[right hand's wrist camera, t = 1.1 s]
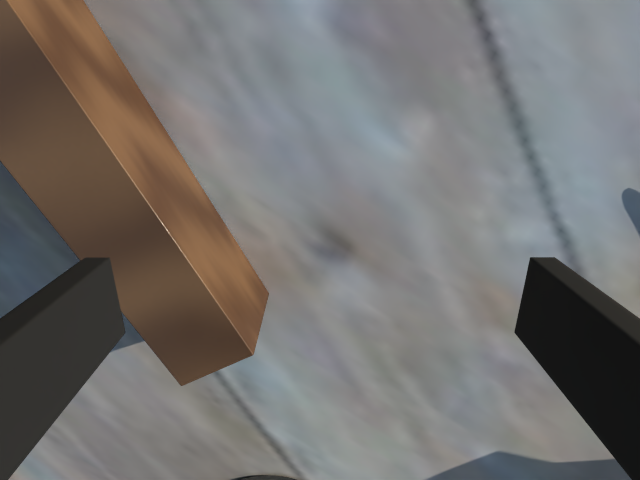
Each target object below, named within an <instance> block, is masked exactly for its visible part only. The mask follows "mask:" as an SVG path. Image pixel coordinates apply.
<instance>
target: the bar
mask: <svg viewBox="0 0 640 480" xmlns="http://www.w3.org/2000/svg"><path fill="white" fill-rule="evenodd" d="M0 161H1V162H2V164H3V165H4V166H5V167H6V169H7V170H8V171H9V172H10V174H11V175H12V176H13V177H14V179H15V180H16V181H17V182H18V184H19V185H20V186H21V187H22V189H23V190H24V191H25V192H26V194H27V195H28V196H29V197H30V199H31V200H32V201H33V202H34V204H35V205H36V206H37V207H38V209H39V210H40V211H41V212H42V213H43V215H44V216H45V217H46V218H47V220H48V221H49V222H50V223H51V225H52V226H53V227H54V228H55V230H56V231H57V232H58V233H59V235H60V236H61V237H62V238H63V240H64V241H65V242H66V243H67V245H68V246H69V247H70V248H71V250H72V251H73V252H74V253H75V255H76V256H77V257H78V258H79V260H80V261H81V260H82V259H84V258H85V257H110V261H111V266H112V271H113V275H114V280H115V285H116V290H117V294H118V299H119V304H120V309H121V312H122V313H123V314H124V315H125V317H126V318H127V319H128V320H129V322H130V323H131V324H132V325H133V327H134V328H135V329H136V330H137V332H138V333H139V334H140V335H141V337H142V338H143V339H144V340H145V342H146V343H147V344H148V345H149V347H150V348H151V349H152V350H153V352H154V353H155V354H156V355H157V357H158V358H159V359H160V360H161V362H162V363H163V364H164V365H165V366H166V368H167V369H168V370H169V371H170V373H171V374H172V375H173V376H174V378H175V379H176V380H177V381H178V383H179V384H180V385H181V386H183V385H185V384H187V383H190V382H192V381H194V380H197V379H199V378H201V377H204V376H206V375H208V374H210V373H213V372H215V371H217V370H220V369H222V368H224V367H227V366H229V365H231V364H234V363H236V362H238V361H240V360H243V359H245V358H247V357H250V356H252V355H253V354H254V351H255V347H256V343H257V339H258V335H259V331H260V327H261V323H262V319H263V315H264V311H265V307H266V303H267V299H268V295H269V293H268V291H267V290H266V288H265V287H264V285H263V283H262V282H261V280H260V279H259V277H258V276H257V274H256V272H255V271H254V269H253V268H252V266H251V264H250V263H249V261H248V260H247V258H246V257H245V255H244V253H243V252H242V250H241V249H240V247H239V246H238V244H237V242H236V241H235V239H234V238H233V236H232V234H231V233H230V231H229V230H228V228H227V227H226V225H225V223H224V222H223V220H222V219H221V217H220V216H219V214H218V212H217V211H216V209H215V208H214V206H213V204H212V203H211V201H210V200H209V198H208V197H207V195H206V193H205V192H204V190H203V189H202V187H201V186H200V184H199V182H198V181H197V179H196V178H195V176H194V174H193V173H192V171H191V170H190V168H189V167H188V165H187V163H186V162H185V160H184V159H183V157H182V156H181V154H180V152H179V151H178V149H177V148H176V146H175V144H174V143H173V141H172V140H171V138H170V137H169V135H168V133H167V132H166V130H165V129H164V127H163V126H162V124H161V122H160V121H159V119H158V118H157V116H156V115H155V113H154V111H153V110H152V108H151V107H150V105H149V103H148V102H147V100H146V99H145V97H144V96H143V94H142V92H141V91H140V89H139V88H138V86H137V85H136V83H135V81H134V80H133V78H132V77H131V75H130V73H129V72H128V70H127V69H126V67H125V66H124V64H123V62H122V61H121V59H120V58H119V56H118V55H117V53H116V51H115V50H114V48H113V47H112V45H111V43H110V42H109V40H108V39H107V37H106V36H105V34H104V32H103V31H102V29H101V28H100V26H99V25H98V23H97V21H96V20H95V18H94V17H93V15H92V13H91V12H90V10H89V9H88V7H87V6H86V4H85V2H84V1H83V0H0Z"/></svg>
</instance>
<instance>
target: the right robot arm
mask: <svg viewBox="0 0 640 480" xmlns="http://www.w3.org/2000/svg"><path fill="white" fill-rule="evenodd" d="M124 334H125V328H124V323H123V318H122V313H121V309H120V304H119V299H118V294H117V290H116V285H115V280H114V275H113V271H112V266H111V261H110V257H85V258H84V259H82V260H81V261H80V262H78V263H77V264H75V265H74V266H73V267H71V268H70V269H69V270H67V271H66V272H64V273H63V274H62V275H60V276H59V277H57V278H56V279H55V280H53V281H52V282H50V283H49V284H48V285H46V286H45V287H44V288H42V289H41V290H39V291H38V292H37V293H35V294H34V295H32V296H31V297H30V298H28V299H27V300H25V301H24V302H23V303H21V304H20V305H19V306H17V307H16V308H14V309H13V310H12V311H10V312H9V313H7V314H6V315H5V316H3V317H2V318H0V480H8V479H9V478H10V477H11V475H12V474H13V473H14V472H15V470H16V469H17V468H18V467H19V465H20V464H21V463H22V462H23V460H24V459H25V458H26V457H27V455H28V454H29V453H30V452H31V450H32V449H33V448H34V447H35V445H36V444H37V443H38V442H39V440H40V439H41V438H42V437H43V435H44V434H45V433H46V431H47V430H48V429H49V428H50V426H51V425H52V424H53V423H54V421H55V420H56V419H57V418H58V416H59V415H60V414H61V413H62V411H63V410H64V409H65V408H66V406H67V405H68V404H69V403H70V401H71V400H72V399H73V398H74V396H75V395H76V394H77V393H78V391H79V390H80V389H81V388H82V386H83V385H84V384H85V383H86V381H87V380H88V379H89V378H90V376H91V375H92V374H93V373H94V371H95V370H96V369H97V368H98V366H99V365H100V364H101V363H102V361H103V360H104V359H105V357H106V356H107V355H108V354H109V352H110V351H111V350H112V349H113V347H114V346H115V345H116V344H117V342H118V341H119V340H120V339H121V337H122V336H123V335H124ZM515 334H516V335H517V336H518V337H519V339H520V340H521V341H522V342H523V344H524V345H525V346H526V347H527V349H528V350H529V351H530V352H531V354H532V355H533V356H534V357H535V359H536V360H537V361H538V363H539V364H540V365H541V366H542V368H543V369H544V370H545V371H546V373H547V374H548V375H549V376H550V378H551V379H552V380H553V381H554V383H555V384H556V385H557V386H558V388H559V389H560V390H561V391H562V393H563V394H564V395H565V396H566V398H567V399H568V400H569V401H570V403H571V404H572V405H573V406H574V408H575V409H576V410H577V411H578V413H579V414H580V415H581V416H582V418H583V419H584V420H585V421H586V423H587V424H588V425H589V426H590V428H591V429H592V430H593V431H594V433H595V434H596V435H597V437H598V438H599V439H600V440H601V442H602V443H603V444H604V445H605V447H606V448H607V449H608V450H609V452H610V453H611V454H612V455H613V457H614V458H615V459H616V460H617V462H618V463H619V464H620V465H621V467H622V468H623V469H624V470H625V472H626V473H627V474H628V475H629V477H630V478H631V479H632V480H640V318H638V317H637V316H635V315H634V314H633V313H631V312H630V311H628V310H627V309H626V308H624V307H623V306H621V305H620V304H619V303H617V302H616V301H615V300H613V299H612V298H610V297H609V296H608V295H606V294H605V293H603V292H602V291H601V290H599V289H598V288H596V287H595V286H594V285H592V284H591V283H590V282H588V281H587V280H585V279H584V278H583V277H581V276H580V275H578V274H577V273H576V272H574V271H573V270H571V269H570V268H569V267H567V266H566V265H565V264H563V263H562V262H560V261H559V260H558V259H556V258H555V257H530V261H529V266H528V271H527V275H526V280H525V285H524V290H523V294H522V299H521V304H520V309H519V313H518V318H517V323H516V328H515ZM241 480H296V479H292V478H288V477H282V476H268V475H267V476H254V477H249V478H244V479H241Z"/></svg>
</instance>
